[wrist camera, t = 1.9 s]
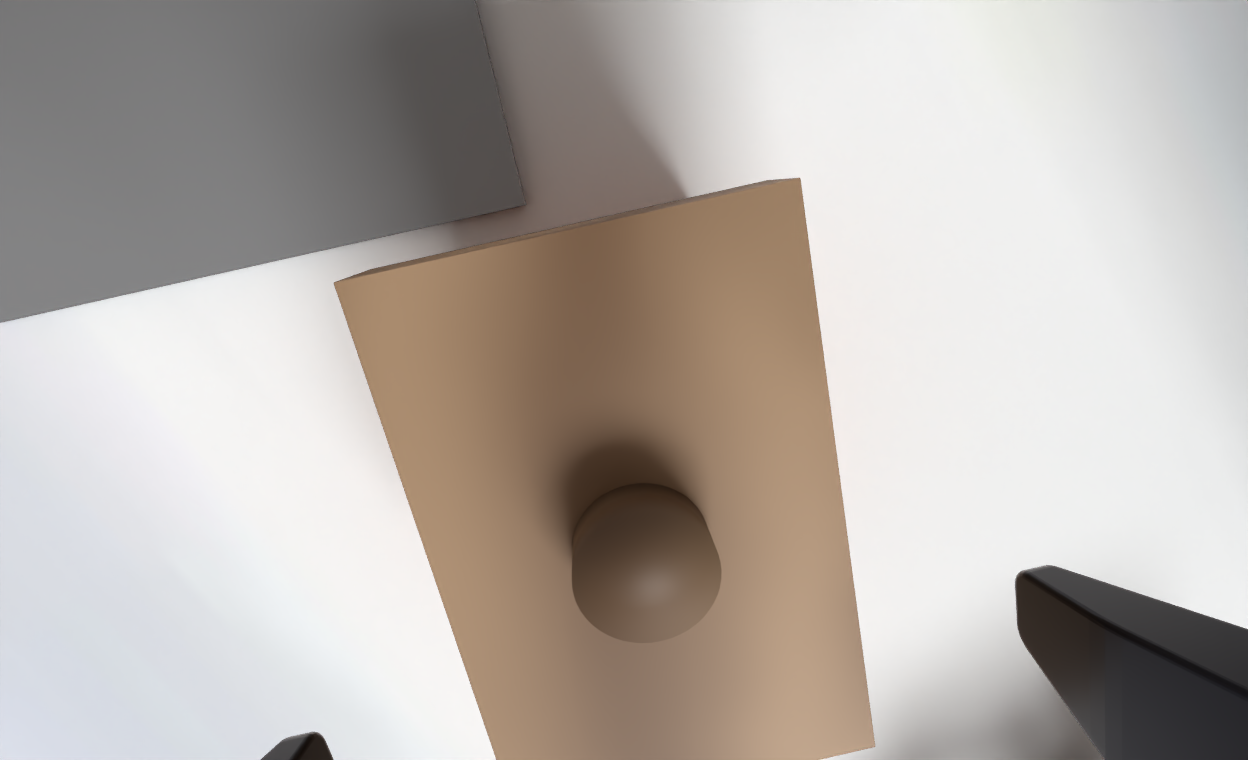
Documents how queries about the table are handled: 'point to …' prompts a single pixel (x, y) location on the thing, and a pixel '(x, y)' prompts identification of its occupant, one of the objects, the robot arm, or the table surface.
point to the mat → (233, 136)
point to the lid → (629, 480)
